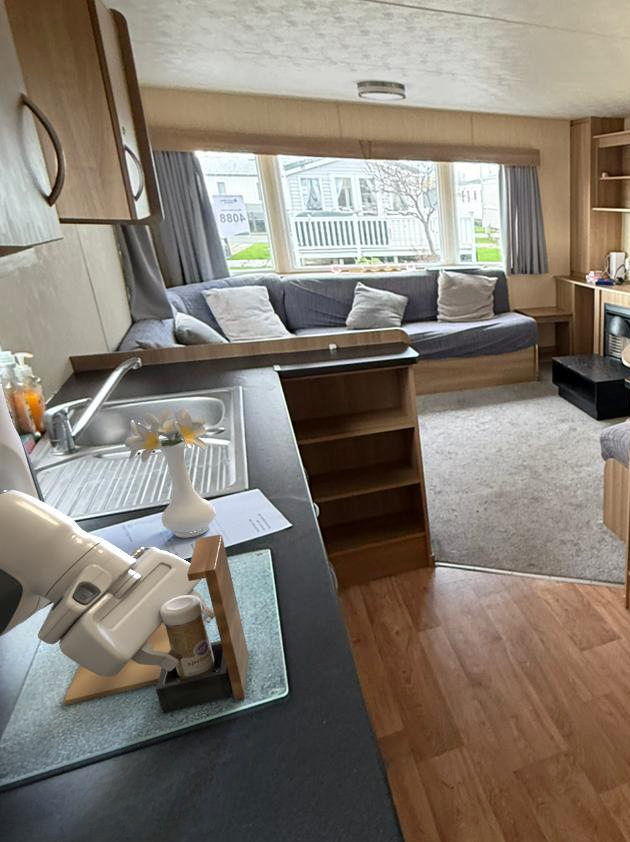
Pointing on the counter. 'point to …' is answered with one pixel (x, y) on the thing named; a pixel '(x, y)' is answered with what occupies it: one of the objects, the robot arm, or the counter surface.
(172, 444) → the flower vase
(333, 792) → the counter surface
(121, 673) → the cork mat
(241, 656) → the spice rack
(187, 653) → the sprinkles bottle
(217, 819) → the counter surface
